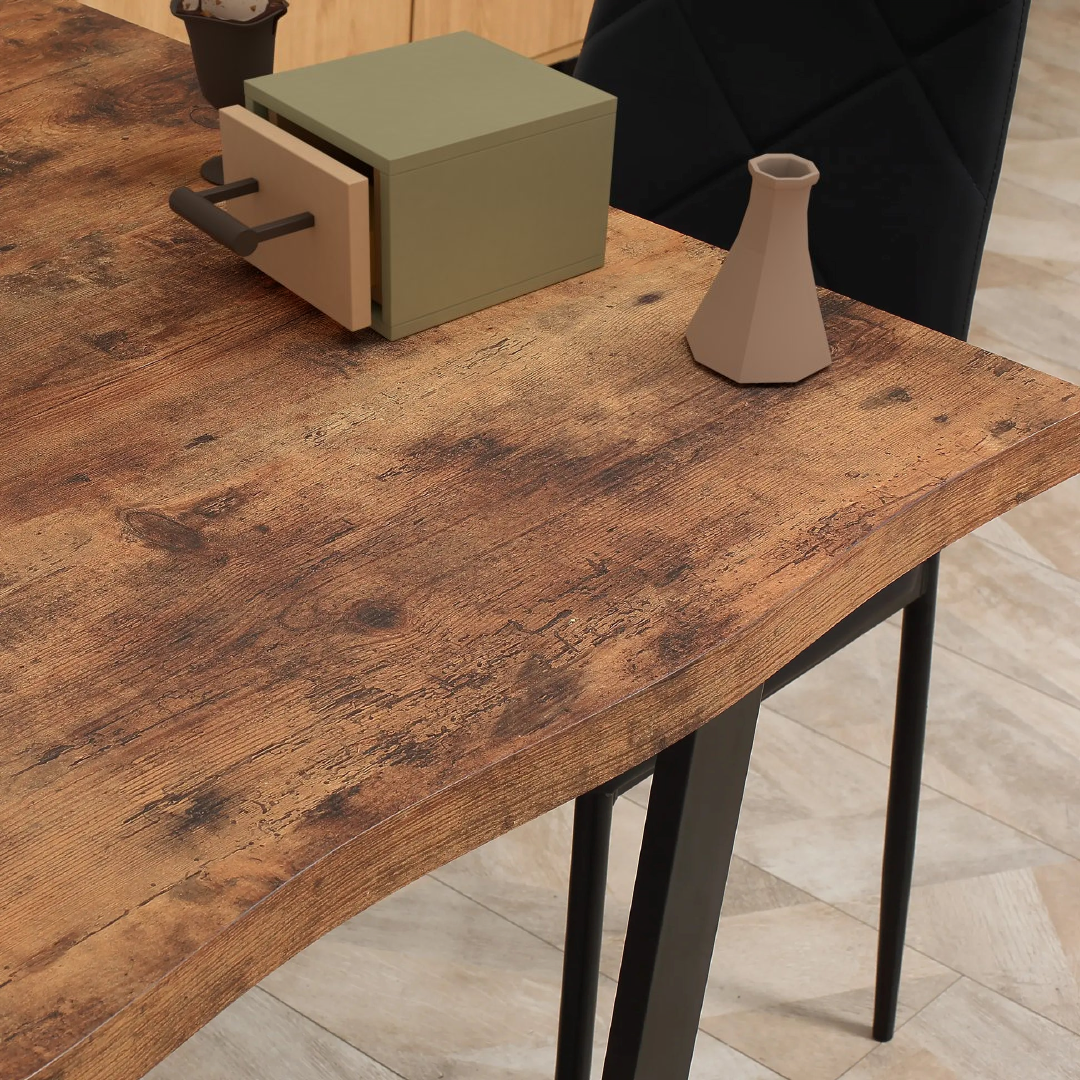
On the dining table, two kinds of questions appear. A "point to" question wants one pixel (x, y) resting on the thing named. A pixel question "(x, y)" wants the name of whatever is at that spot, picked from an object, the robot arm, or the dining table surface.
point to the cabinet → (462, 168)
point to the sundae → (229, 51)
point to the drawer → (294, 212)
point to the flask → (766, 285)
